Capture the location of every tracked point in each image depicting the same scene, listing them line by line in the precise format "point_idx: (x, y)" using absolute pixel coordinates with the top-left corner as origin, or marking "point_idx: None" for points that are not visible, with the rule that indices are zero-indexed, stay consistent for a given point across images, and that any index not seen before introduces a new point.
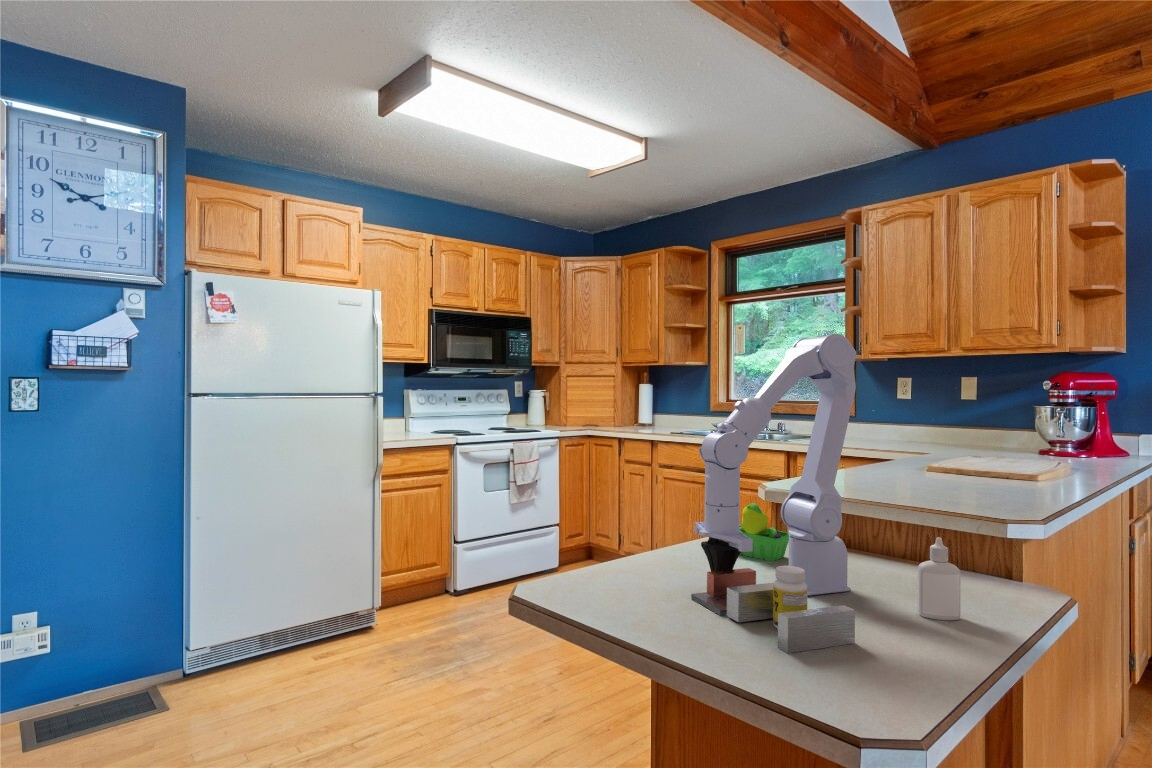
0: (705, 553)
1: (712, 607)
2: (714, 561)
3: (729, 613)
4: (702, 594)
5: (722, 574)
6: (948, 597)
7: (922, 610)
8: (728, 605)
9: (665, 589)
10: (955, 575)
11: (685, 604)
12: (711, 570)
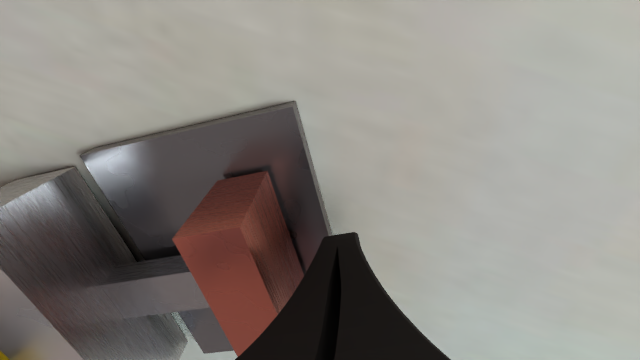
0: (406, 325)
1: (133, 142)
2: (304, 316)
3: (49, 175)
4: (280, 152)
5: (197, 280)
6: None
7: None
8: (30, 187)
9: (462, 7)
10: None
11: (217, 48)
12: (357, 266)
